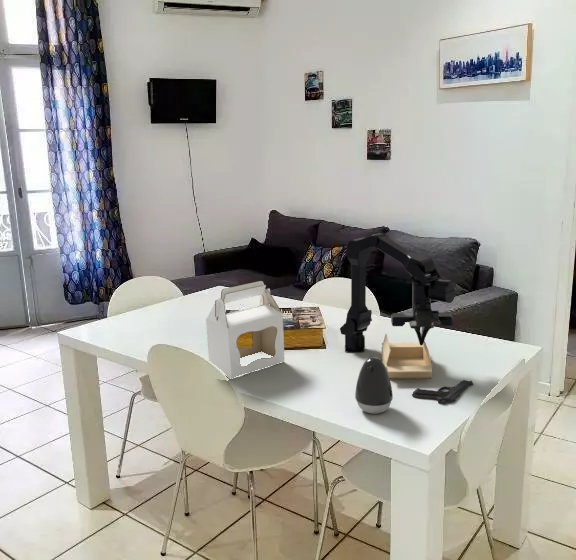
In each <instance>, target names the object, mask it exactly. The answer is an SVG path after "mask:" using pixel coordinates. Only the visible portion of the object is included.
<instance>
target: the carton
mask: <svg viewBox="0 0 576 560" xmlns="http://www.w3.org/2000/svg"><path fill="white" fill-rule="evenodd" d="M382 345H383V342H382V343H381V346H382ZM389 346H390V350H391V352H390V356H389V359H388V363H387V364H386V362H385V357H384V353H383V348H382V347H381V361H382V362H383V364H384V365H385V367H386V369H387V372H388V375H389V378H390V380H391V379H392V380H395V379H396V380H397V379H398V380H401V379H402V380H405V379H407V380H408V379H413V380H415V379H417V380H418V379H419V380H422V379H424V380H428V379H432V378H433V366H432V365H433V364H432V363H431V364H430V362H429V360H428V357H427V355H426V352H425V350H424V347H423V345H420V343H419V342H389Z"/></svg>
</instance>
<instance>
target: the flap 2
mask: <svg viewBox="0 0 576 560" xmlns="http://www.w3.org/2000/svg"><path fill="white" fill-rule="evenodd" d="M422 346H423V347H424V350H425V352H426V355H427V357H428V360H429V362H430V364H431V365H432V362H431V361H432V360H431V356H430V353H429V348H428V346H427V344H426V341H425V340H424V343H423V345H422Z"/></svg>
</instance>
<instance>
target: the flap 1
mask: <svg viewBox="0 0 576 560" xmlns="http://www.w3.org/2000/svg"><path fill="white" fill-rule="evenodd" d="M382 343H383V345H382V344H381V349H382V348H383V353H384V357H385V362H386V364H387V363H388V359H389V356H390V352H391V350H390V346H389V343H390V342H389V338H388V335H387V333H385V334H384V338H383V342H382Z"/></svg>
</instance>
